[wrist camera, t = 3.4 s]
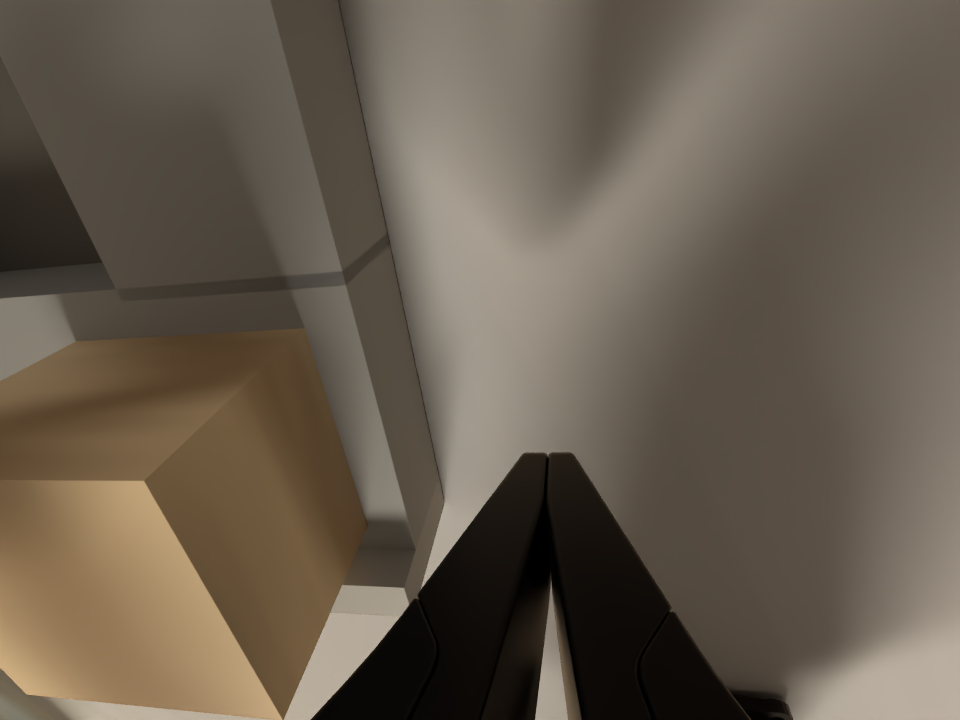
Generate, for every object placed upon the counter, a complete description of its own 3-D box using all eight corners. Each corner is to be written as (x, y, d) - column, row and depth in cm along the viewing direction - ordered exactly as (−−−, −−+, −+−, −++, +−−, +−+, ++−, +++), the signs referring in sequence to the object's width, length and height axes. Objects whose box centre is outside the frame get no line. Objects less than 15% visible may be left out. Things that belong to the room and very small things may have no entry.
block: (305, 328, 9) (143, 480, 5) (368, 526, 11) (282, 720, 8) (75, 341, 10) (-187, 480, 6) (178, 521, 12) (26, 694, 9)
